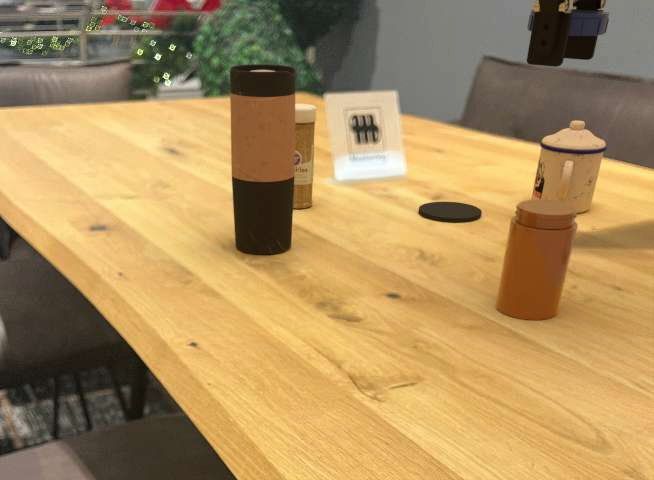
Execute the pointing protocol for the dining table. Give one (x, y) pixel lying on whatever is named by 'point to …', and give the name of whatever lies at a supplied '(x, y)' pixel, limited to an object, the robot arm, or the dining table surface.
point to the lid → (583, 22)
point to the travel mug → (263, 156)
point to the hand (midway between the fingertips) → (560, 60)
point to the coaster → (450, 211)
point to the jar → (536, 259)
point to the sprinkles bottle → (304, 154)
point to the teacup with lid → (569, 167)
